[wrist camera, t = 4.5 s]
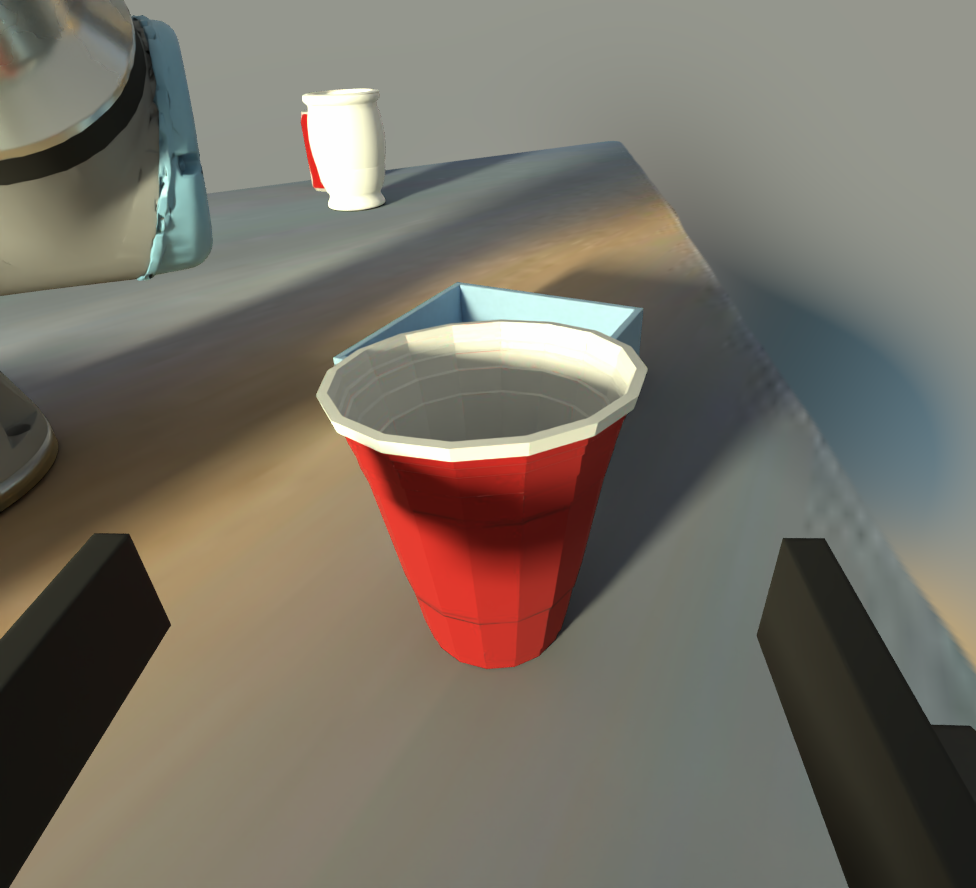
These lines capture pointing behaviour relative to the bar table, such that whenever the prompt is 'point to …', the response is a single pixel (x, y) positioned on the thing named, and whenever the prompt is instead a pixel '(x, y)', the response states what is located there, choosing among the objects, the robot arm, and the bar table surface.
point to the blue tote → (511, 313)
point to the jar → (348, 146)
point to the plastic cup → (487, 467)
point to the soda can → (310, 155)
